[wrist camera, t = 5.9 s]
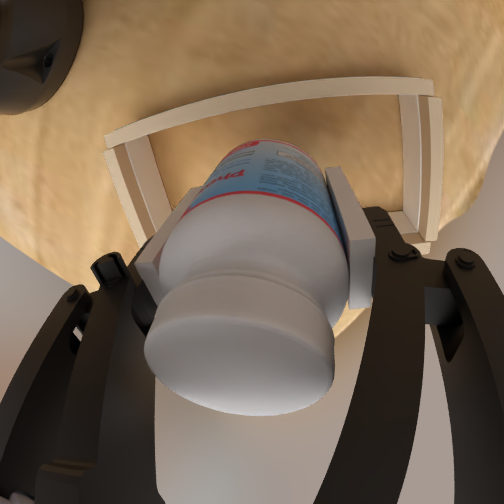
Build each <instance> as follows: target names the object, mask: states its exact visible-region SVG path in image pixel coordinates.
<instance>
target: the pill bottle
mask: <svg viewBox="0 0 504 504" xmlns="http://www.w3.org/2000/svg"><path fill="white" fill-rule="evenodd" d="M159 282H160V287H161V291H162V295H163V300H162V301H161V303H160V304H159V306H158V308H157V310H156V315H155V319H154V321H153V323H152V325H151V327H150V330H149V332H148V334H147V337H146V340H145V345H144V355H145V359H146V361H147V364H148V366H149V368H150V369H151V371H152V372H153V373H154V375H155V376H156V377H157V378H158V379H159V380H160V381H161V382H162V383H163V384H164V385H165V386H167V387H168V388H169V389H171V390H172V391H174V392H175V393H177V394H178V395H180V396H182V397H184V398H186V399H188V400H190V401H192V402H194V403H197V404H199V405H202V406H205V407H208V408H211V409H214V410H219V411H222V412H226V413H231V414H239V415H250V416H271V415H279V414H285V413H290V412H294V411H297V410H300V409H303V408H306V407H307V406H310V405H312V404H313V403H315V402H317V401H318V400H320V399H321V398H322V397H323V396H324V395H325V394H326V393H327V391H328V390H329V389H330V387H331V385H332V383H333V380H334V371H335V360H334V334H333V330H332V328H333V327H334V325H335V324H336V323H337V322H338V320H339V318H340V317H341V315H342V313H343V310H344V308H345V305H346V302H347V299H348V295H349V271H348V263H347V259H346V255H345V251H344V246H343V242H342V238H341V235H340V231H339V227H338V223H337V220H336V216H335V212H334V209H333V205H332V202H331V198H330V195H329V192H328V188H327V185H326V182H325V179H324V176H323V174H322V172H321V170H320V168H319V166H318V165H317V163H316V162H315V161H314V159H313V158H312V157H311V156H310V155H309V154H307V153H306V152H305V151H303V150H302V149H300V148H298V147H297V146H295V145H292V144H290V143H287V142H284V141H280V140H274V139H257V140H252V141H248V142H245V143H243V144H241V145H239V146H237V147H236V148H234V149H233V150H232V151H230V152H229V153H228V154H227V155H226V156H225V157H224V158H223V159H222V161H221V162H220V163H219V165H218V166H217V167H216V169H215V170H214V171H213V173H212V174H211V175H210V177H209V178H208V180H207V181H206V182H205V184H204V185H203V186H202V188H201V189H200V191H199V192H198V193H197V195H196V196H195V198H194V199H193V200H192V202H191V203H190V205H189V206H188V208H187V209H186V211H185V212H184V214H183V215H182V216H181V218H180V219H179V221H178V222H177V224H176V225H175V227H174V228H173V230H172V232H171V233H170V235H169V237H168V239H167V241H166V243H165V245H164V247H163V250H162V254H161V258H160V263H159Z"/></svg>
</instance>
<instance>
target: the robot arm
mask: <svg viewBox="0 0 504 504" xmlns="http://www.w3.org/2000/svg"><path fill="white" fill-rule="evenodd" d="M82 24H83V7H82V2H81V0H0V115H17V114H21V113H24V112H27V111H31V110H34V109H36V108H38V107H40V106H41V105H43V104H44V103H45V102H47V101H48V100H49V99H50V98H51V97H52V96H53V94H54V93H55V92H56V91H57V89H58V88H59V86H60V85H61V83H62V82H63V80H64V78H65V77H66V75H67V73H68V71H69V69H70V67H71V64H72V62H73V60H74V57H75V54H76V51H77V48H78V45H79V41H80V37H81V31H82ZM325 174H326V183H327V188H328V192H329V195H330V198H331V202H332V205H333V209H334V212H335V216H336V220H337V223H338V227H339V231H340V235H341V238H342V242H343V246H344V251H345V255H346V259H347V263H348V271H349V295H348V299H347V300H348V305H349V309H358V308H367V307H371V300H372V298H373V304H372V310H371V316H370V321H369V327H368V332H367V337H366V342H365V347H364V352H363V356H362V361H361V365H360V369H359V373H358V377H357V381H356V385H355V388H354V392H353V396H352V399H351V403H350V406H349V410H348V413H347V416H346V420H345V423H344V426H343V429H342V432H341V435H340V438H339V441H338V444H337V446H336V449H335V452H334V455H333V458H332V460H331V463H330V465H329V468H328V470H327V473H326V475H325V478H324V480H323V483H322V485H321V487H320V490H319V492H318V494H317V496H316V499H315V501H314V503H313V504H397V502H398V498H399V495H400V492H401V489H402V486H403V482H404V479H405V475H406V471H407V467H408V464H409V460H410V455H411V451H412V446H413V442H414V436H415V431H416V425H417V420H418V413H419V405H420V398H421V389H422V380H423V367H424V348H425V324H430V327H431V331H432V335H433V339H434V342H435V346H436V350H437V354H438V358H439V362H440V367H441V371H442V376H443V381H444V386H445V392H446V397H447V403H448V410H449V417H450V424H451V433H452V443H453V456H454V481H455V495H454V504H504V295H503V293H502V291H501V290H500V288H499V286H498V284H497V283H496V281H495V279H494V277H493V276H492V274H491V272H490V271H489V269H488V267H487V266H486V264H485V263H484V261H483V260H482V259H481V257H480V256H479V255H478V254H476V253H475V252H473V251H471V250H468V249H465V248H456V249H452V250H450V251H449V252H448V253H447V256H446V260H445V261H441V260H431V259H426V258H422V256H421V253H420V251H419V250H418V249H417V248H416V247H415V246H413V245H411V244H409V243H405V241H404V239H403V238H402V236H401V234H400V232H399V231H398V229H397V227H396V226H395V224H394V222H393V221H392V220H391V217H390V216H389V214H388V212H387V211H385V210H384V209H382V208H380V207H379V206H377V207H367V208H361V205H360V203H359V201H358V199H357V197H356V195H355V193H354V192H353V190H352V188H351V186H350V184H349V182H348V180H347V178H346V176H345V174H344V173H343V171H342V169H341V167H340V166H338V167H328V168H325ZM201 188H202V186H200V187H195V188H191V189H190V190H189V191H188V193H187V194H186V195H185V196H184V198H183V199H182V200H181V201H180V203H179V204H178V205H177V206H176V208H175V209H174V210H173V211H172V213H171V214H170V215H169V217H168V218H167V219H166V220H165V222H164V223H163V224H162V226H161V227H160V228H159V230H158V231H157V232H156V234H155V235H153V236H152V237H151V238H150V239H148V240H147V241H146V242H145V243H144V244H143V246H142V247H141V248H140V250H139V251H138V252H137V254H136V256H135V257H134V258H133V259H132V261H131V262H130V264H129V265H128V266H126V264H125V262H124V260H123V258H122V256H121V254H120V253H118V252H112V253H108V254H106V255H104V256H102V257H100V258H99V259H97V260H96V261H95V262H94V263H93V264H92V266H91V267H90V268H91V270H92V272H93V273H94V275H95V277H96V279H97V280H98V282H99V284H100V288H99V290H98V291H95V292H92V293H89V292H88V291H87V289H86V287H85V286H84V285H80V284H79V285H76V286H73V287H71V288H69V290H68V291H66V292H65V293H64V295H63V296H62V297H61V299H60V300H59V302H58V303H57V304H56V306H55V307H54V309H53V311H52V312H51V313H50V315H49V316H48V318H47V320H46V321H45V323H44V324H43V326H42V328H41V329H40V331H39V332H38V334H37V336H36V337H35V339H34V340H33V342H32V344H31V346H30V347H29V349H28V351H27V352H26V354H25V356H24V358H23V360H22V362H21V363H20V365H19V367H18V369H17V371H16V373H15V374H14V377H13V378H12V380H11V382H10V384H9V386H8V388H7V390H6V393H5V395H4V397H3V399H2V401H1V403H0V504H165V502H164V500H163V499H162V497H161V496H160V494H159V493H158V490H157V485H156V470H155V469H156V467H155V435H154V434H155V432H154V431H155V430H154V414H155V375H154V373H153V372H152V371H151V369H150V368H149V366H148V364H147V361H146V359H145V355H144V345H145V340H146V337H147V334H148V332H149V330H150V327H151V325H152V323H153V321H154V319H155V317H154V316H155V314H156V310H157V308H158V306H159V304H160V303H161V301H162V300H163V295H162V291H161V287H160V282H159V263H160V258H161V254H162V250H163V247H164V245H165V243H166V241H167V239H168V237H169V235H170V233H171V232H172V230H173V228H174V227H175V225H176V224H177V222H178V221H179V219H180V218H181V216H182V215H183V214H184V212H185V211H186V209H187V208H188V206H189V205H190V203H191V202H192V200H193V199H194V198H195V196H196V195H197V193H198V192H199V191H200V189H201ZM75 327H77V329H78V330H79V331H80V332H81V333H82V335H83V336H82V340H81V342H80V341H79V339H78V338H77V337H76V336H75V335H74V333H73V331H74V329H75Z"/></svg>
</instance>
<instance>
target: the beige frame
mask: <svg viewBox="0 0 504 504" xmlns="http://www.w3.org/2000/svg"><path fill="white" fill-rule="evenodd" d="M378 94H398V95H399V104H400V114H401V126H402V142H403V211H397V212H388V214H389V216H390V217H391V220H392V221H393V222H394V224H395V226H396V227H397V229H398V231H399V232H400V234H401V236H402V238H403V239H404V241H405V243H409V244H411V245H413V246H415V247H416V248H417V249H418V250H419V251H420V253H421V255H422V254H429V251H430V245H431V242H430V241H435V240H437V235H438V228H439V220H440V211H441V200H442V186H443V163H444V135H443V113H442V100H441V98H440V97H435V95H434V86H433V80H429V79H422V78H416V77H394V76H363V77H340V78H326V79H315V80H305V81H297V82H289V83H282V84H276V85H270V86H264V87H258V88H253V89H248V90H243V91H238V92H233V93H229V94H225V95H220V96H216V97H212V98H208V99H205V100H201V101H197V102H194V103H190V104H187V105H183V106H180V107H177V108H174V109H170V110H167V111H164V112H161V113H158V114H155V115H152V116H150V117H147V118H144V119H141V120H139V121H136V122H133V123H131V124H128V125H126V126H123V127H121V128H118V129H116V130H115V131H113V132H111V133H109V134H106V135H104V139H105V142H106V146H107V149H108V148H110V149H108V150H106V151H104V152H103V154H104V157H105V160H106V163H107V166H108V169H109V172H110V175H111V177H112V180H113V183H114V186H115V188H116V191H117V194H118V196H119V199H120V201H121V204H122V207H123V209H124V212H125V214H126V217H127V219H128V221H129V224H130V226H131V229H132V231H133V233H134V236H135V238H136V240H137V243H138V245H139V247H140V248H141V247H142V246H143V244H144V243H145V242H146V241H147V240H148V239H150V238H151V237H152V236H153V235H155V234H156V232H157V231H158V230H159V228H160V227H161V226H162V224H163V223H164V222H165V220H166V219H167V218H168V217H169V215H170V214H171V213H172V209H171V206H170V203H169V200H168V198H167V195H166V192H165V189H164V186H163V183H162V180H161V176H160V173H159V170H158V167H157V164H156V161H155V158H154V154H153V151H152V148H151V145H150V141H149V138H148V134H151V133H154V132H157V131H160V130H163V129H166V128H170V127H173V126H176V125H180V124H183V123H187V122H191V121H194V120H198V119H202V118H206V117H210V116H214V115H218V114H223V113H227V112H232V111H237V110H241V109H246V108H252V107H257V106H263V105H269V104H275V103H281V102H288V101H296V100H304V99H313V98H323V97H335V96H350V95H378ZM430 95H433V96H430ZM113 146H114V147H113ZM111 147H112V148H111Z"/></svg>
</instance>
